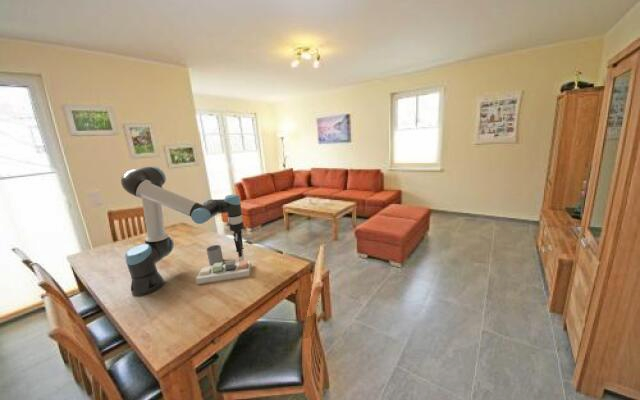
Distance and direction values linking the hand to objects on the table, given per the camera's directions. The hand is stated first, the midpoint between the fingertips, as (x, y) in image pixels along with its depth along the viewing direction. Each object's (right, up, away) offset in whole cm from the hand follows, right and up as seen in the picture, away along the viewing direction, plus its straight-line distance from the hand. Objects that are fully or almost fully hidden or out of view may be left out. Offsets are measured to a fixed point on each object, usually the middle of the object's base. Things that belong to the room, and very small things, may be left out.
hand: (241, 260), depth 145 cm
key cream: (-20, -8, -2) cm, 21 cm away
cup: (-21, -5, +16) cm, 27 cm away
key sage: (-13, -6, -1) cm, 14 cm away
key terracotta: (+1, -6, +2) cm, 6 cm away
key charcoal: (-6, -5, 0) cm, 8 cm away
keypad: (-9, -8, 0) cm, 12 cm away
